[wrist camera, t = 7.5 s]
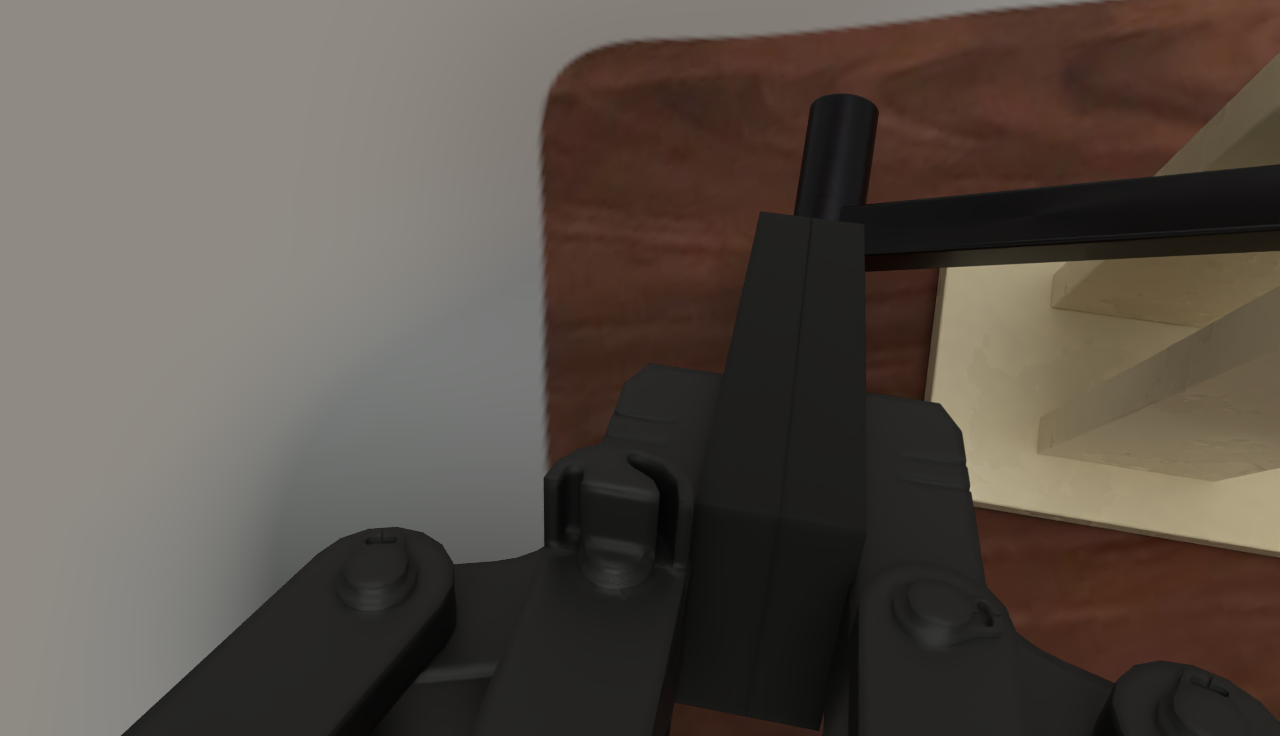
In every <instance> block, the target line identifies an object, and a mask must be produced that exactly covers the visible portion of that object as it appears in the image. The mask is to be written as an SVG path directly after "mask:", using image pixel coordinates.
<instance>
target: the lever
mask: <svg viewBox="0 0 1280 736" xmlns="http://www.w3.org/2000/svg"><path fill="white" fill-rule="evenodd" d="M878 115H879V112H878V109H877V107H876V106H875V104H874V103H872V102H871V101H869V100H868V99H865V98H863V97H860V96H857V95H852V94H830V95H825V96H822V97H820V98H818V99H816V100H815V101H814V102H813V103H812V105H811V107H810V113H809V119H808V126H807V132H806V139H805V145H804V151H803V158H802V164H801V171H800V177H799V183H798V190H797V196H796V203H795V209H794V215H793V216H801V217H809V218H817V219H826V220H834V221H842V222H850V223H858V224H864V247H865V272H869V271H889V270H909V269H929V268H949V267H969V266H989V265H1009V264H1029V263H1049V262H1069V261H1089V260H1109V259H1129V258H1149V257H1169V256H1189V255H1209V254H1229V253H1249V252H1269V251H1280V164H1277V165H1266V166H1256V167H1246V168H1236V169H1225V170H1215V171H1205V172H1195V173H1184V174H1174V175H1164V176H1154V177H1143V178H1133V179H1123V180H1113V181H1102V182H1092V183H1082V184H1071V185H1061V186H1051V187H1041V188H1030V189H1020V190H1010V191H1000V192H989V193H979V194H969V195H959V196H948V197H938V198H928V199H918V200H907V201H897V202H887V203H877V204H866V201H867V194H868V187H869V180H870V173H871V166H872V158H873V151H874V144H875V137H876V130H877V123H878Z"/></svg>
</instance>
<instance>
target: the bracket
mask: <svg viewBox="0 0 1280 736" xmlns="http://www.w3.org/2000/svg"><path fill="white" fill-rule="evenodd" d="M1277 164H1280V52H1279V53H1278V54H1277V55H1276V56H1275V57H1274V58H1273V59H1272V60H1271V61H1270V62H1269V63H1268V64H1267V65H1266V66H1265V67H1264V68H1263V69H1262V70H1261V71H1260V72H1259V73H1258V74H1257V75H1256V76H1255V77H1254V78H1253V79H1252V80H1251V81H1250V82H1249V83H1248V84H1247V85H1246V86H1245V87H1244V88H1243V89H1242V90H1241V91H1240V92H1239V93H1238V94H1237V95H1236V96H1234V97H1233V98H1232V99H1231V100H1230V101H1229V102H1228V103H1227V104H1226V105H1225V106H1224V107H1223V108H1222V109H1221V110H1220V111H1219V112H1218V113H1217V114H1216V115H1215V116H1214V117H1213V118H1212V119H1211V120H1210V121H1209V122H1208V123H1207V124H1206V125H1205V126H1204V127H1203V128H1202V129H1201V130H1200V131H1199V132H1198V133H1197V134H1196V135H1195V136H1194V137H1193V138H1192V139H1191V140H1190V141H1189V142H1188V143H1187V144H1186V145H1185V146H1184V147H1183V148H1182V149H1181V150H1180V151H1179V152H1178V153H1177V154H1176V155H1175V156H1174V157H1173V158H1172V159H1171V160H1170V161H1168V162H1167V163H1166V164H1165V165H1164V166H1163V167H1162V168H1161V169H1160V170H1159V171H1158V172H1157V173H1156V174H1155V175H1154V176H1164V175H1174V174H1184V173H1195V172H1205V171H1215V170H1225V169H1236V168H1246V167H1256V166H1266V165H1277ZM1154 176H1153V177H1154ZM924 401H928V402H935V403H940V404H941V405H942V406H943V408H944V409H945V410H946V411H947V413H948V414H949V415H950V417H951V418H952V419H953V420H954V422H955V423H956V424H957V426H958V427H959V428H960V429H961V431H962V434H963V441H964V447H965V454H966V460H967V462H966V467H968V473H969V480H970V492H972V499H973V505H974V507H980V508H986V509H992V510H998V511H1004V512H1010V513H1016V514H1022V515H1028V516H1034V517H1040V518H1046V519H1052V520H1058V521H1064V522H1070V523H1076V524H1082V525H1088V526H1093V527H1099V528H1105V529H1111V530H1117V531H1123V532H1129V533H1135V534H1141V535H1147V536H1153V537H1159V538H1165V539H1171V540H1177V541H1183V542H1189V543H1195V544H1201V545H1207V546H1213V547H1219V548H1225V549H1231V550H1237V551H1243V552H1249V553H1255V554H1261V555H1266V556H1272V557H1278V558H1280V251H1269V252H1249V253H1229V254H1209V255H1189V256H1169V257H1149V258H1129V259H1109V260H1089V261H1069V262H1049V263H1029V264H1009V265H989V266H969V267H949V268H940V273H939V281H938V289H937V297H936V306H935V314H934V322H933V330H932V339H931V347H930V355H929V364H928V372H927V380H926V388H925V397H924Z"/></svg>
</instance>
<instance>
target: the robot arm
mask: <svg viewBox="0 0 1280 736" xmlns="http://www.w3.org/2000/svg"><path fill="white" fill-rule="evenodd" d="M966 462H967V460H966V454H965V447H964V441H963V434H962V431H961V429H960V428H959V427H958V426H957V424H956V423H955V422H954V420H953V419H952V418H951V417H950V415H949V414H948V413H947V411H946V410H945V409H944V408H943V406H942V405H941V404H940V403H935V402H928V401H922V400H915V399H908V398H901V397H894V396H888V395H881V394H874V393H867V392H866V345H865V247H864V224H858V223H850V222H842V221H834V220H826V219H817V218H809V217H801V216H793V215H785V214H777V213H768V212H760V215H759V220H758V224H757V229H756V233H755V238H754V242H753V246H752V251H751V255H750V260H749V264H748V269H747V273H746V277H745V282H744V286H743V291H742V295H741V300H740V304H739V309H738V313H737V317H736V322H735V326H734V331H733V335H732V340H731V344H730V348H729V353H728V357H727V362H726V366H725V371H724V374H718V373H712V372H705V371H698V370H691V369H684V368H678V367H671V366H664V365H657V364H650V363H649V364H648V365H647V366H646V367H644V368H643V369H642V370H641V371H639V372H638V373H637V374H636V375H634V376H633V377H632V378H631V379H629V380H628V381H627V382H626V383H625V384H624V386H623V389H622V391H621V394H620V397H619V399H618V402H617V404H616V407H615V410H614V415H612V417H611V420H610V423H609V425H608V428H607V430H606V436H604V438H603V441H602V443H601V444H599V445H594V446H590V447H585V448H580V449H577V450H576V451H574V452H572V453H570V454H568V455H567V456H565V457H563V458H561V459H559V460H558V461H556V463H555V464H554V465H553V467H552V468H551V469H550V470H549V472H548V473H547V474H546V475H545V477H544V543H545V546H544V547H542V548H541V549H539V550H537V551H535V552H532V553H529V554H527V555H523V556H521V557H518V558H512V559H506V560H500V561H492V562H479V563H466V564H453V562H452V560H451V558H450V557H449V555H448V554H447V552H446V550H445V549H444V547H443V545H442V544H440V543H439V542H437V541H435V540H434V539H432V538H431V537H429V536H428V535H426V534H424V533H423V532H418V531H413V530H409V529H404V528H399V527H389V528H375V529H367V530H364V531H361V532H358V533H355V534H352V535H349V536H346V537H343V538H341V539H339V540H338V541H336V542H335V543H333V544H332V545H330V546H329V547H327V548H326V549H324V550H323V551H321V552H320V553H318V554H317V555H316V556H315V557H314V558H313V559H312V560H311V561H310V562H308V563H307V564H306V565H305V566H304V567H303V568H302V569H301V570H300V571H299V572H298V573H297V574H295V575H294V576H293V577H292V578H291V579H290V580H289V581H288V582H287V583H286V584H285V585H283V586H282V588H280V589H279V590H278V591H277V592H276V593H275V594H274V595H273V596H272V597H271V598H269V599H268V600H267V601H266V602H265V603H264V604H263V605H262V606H261V607H260V608H259V609H258V610H256V612H254V613H253V614H252V615H251V616H250V617H249V618H248V619H247V620H246V621H245V622H243V623H242V625H240V626H239V627H238V628H237V629H236V630H235V631H234V632H233V633H232V634H231V635H229V636H228V637H227V638H226V639H225V640H224V641H223V642H222V643H221V644H220V645H219V646H217V647H216V648H215V649H214V650H213V651H212V652H211V653H210V654H209V655H208V656H207V657H206V658H204V659H203V660H202V661H201V662H200V663H199V664H198V665H197V666H196V667H195V668H194V669H193V670H192V671H190V672H189V673H188V674H187V675H186V676H185V677H184V678H183V679H182V680H181V681H180V682H179V683H178V684H176V685H175V686H174V687H173V688H172V689H171V690H170V691H169V692H168V693H167V694H166V695H165V696H163V697H162V698H161V699H160V700H159V701H158V702H157V703H156V704H155V705H154V706H153V707H151V708H150V709H149V710H148V711H147V712H146V713H145V714H144V715H143V716H142V717H141V718H140V719H139V720H137V721H136V722H135V723H134V724H133V725H132V726H131V727H130V728H129V729H128V730H127V731H126V732H124V733H123V734H122V735H121V736H669V734H670V724H671V717H672V712H673V707H674V702H675V703H680V704H685V705H690V706H696V707H701V708H706V709H711V710H716V711H721V712H726V713H731V714H736V715H741V716H746V717H751V718H756V719H761V720H766V721H771V722H777V723H782V724H787V725H792V726H797V727H802V728H807V729H812V730H817V731H819V729H820V725H821V721H822V717H823V712H824V728H823V736H1280V723H1279V722H1278V721H1277V720H1276V718H1275V717H1274V716H1273V715H1272V714H1271V713H1270V712H1269V711H1268V710H1267V709H1266V708H1265V707H1264V706H1263V704H1262V703H1261V702H1260V701H1258V700H1257V699H1255V698H1254V697H1252V696H1251V695H1249V694H1248V693H1247V692H1245V691H1244V690H1242V689H1241V688H1239V687H1238V686H1236V685H1235V684H1233V683H1232V682H1230V681H1229V680H1227V679H1225V678H1223V677H1220V676H1218V675H1215V674H1213V673H1210V672H1208V671H1205V670H1203V669H1201V668H1198V667H1196V666H1193V665H1187V664H1181V663H1174V662H1167V661H1155V662H1150V663H1145V664H1139V665H1134V666H1133V667H1132V668H1131V669H1129V670H1128V671H1127V672H1126V673H1125V674H1123V675H1122V676H1121V677H1120V678H1119V679H1118V680H1117V681H1116V683H1113V682H1111V681H1109V680H1106V679H1104V678H1102V677H1099V676H1097V675H1095V674H1092V673H1090V672H1088V671H1085V670H1083V669H1081V668H1078V667H1076V666H1074V665H1071V664H1069V663H1067V662H1064V661H1062V660H1060V659H1058V658H1056V657H1054V656H1052V655H1050V654H1049V653H1047V652H1045V651H1043V650H1041V649H1039V648H1037V647H1036V646H1035V645H1033V644H1032V643H1031V642H1029V641H1028V640H1026V639H1025V638H1024V637H1022V636H1021V635H1020V634H1018V633H1017V632H1016V631H1015V628H1014V626H1013V623H1012V621H1011V619H1010V616H1009V614H1008V612H1007V609H1006V607H1005V606H1004V605H1003V604H1002V603H1001V602H1000V601H999V599H998V598H997V597H996V596H995V595H994V594H993V593H992V592H991V591H990V590H989V589H988V588H987V586H986V583H985V576H984V570H983V563H982V557H981V550H980V544H979V538H978V531H977V525H976V518H975V512H974V505H973V499H972V492H970V480H969V473H968V467H966Z"/></svg>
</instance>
